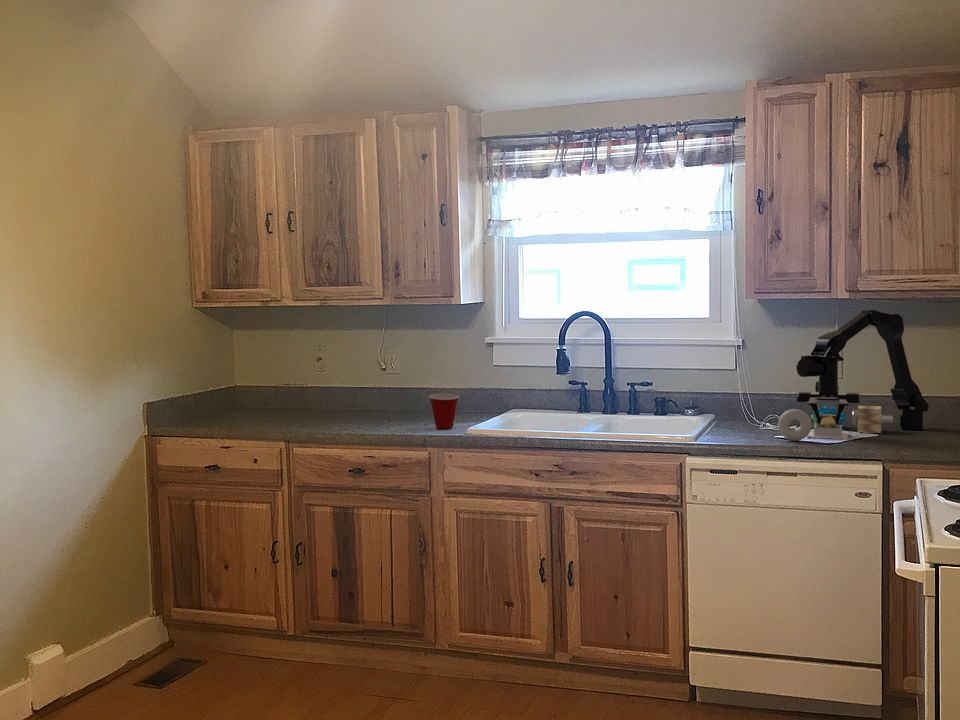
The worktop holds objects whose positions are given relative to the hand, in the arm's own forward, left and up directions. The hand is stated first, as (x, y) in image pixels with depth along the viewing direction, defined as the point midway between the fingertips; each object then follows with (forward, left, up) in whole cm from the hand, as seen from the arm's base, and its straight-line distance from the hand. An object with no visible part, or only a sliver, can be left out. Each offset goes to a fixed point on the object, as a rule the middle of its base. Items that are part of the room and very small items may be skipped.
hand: (828, 424), depth 318 cm
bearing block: (-12, -14, -4) cm, 19 cm away
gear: (+1, -22, -4) cm, 23 cm away
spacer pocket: (0, 0, -4) cm, 4 cm away
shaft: (-13, -14, -2) cm, 19 cm away
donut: (+9, +13, -4) cm, 16 cm away
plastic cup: (+127, +16, -4) cm, 128 cm away
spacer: (0, 0, -1) cm, 1 cm away
